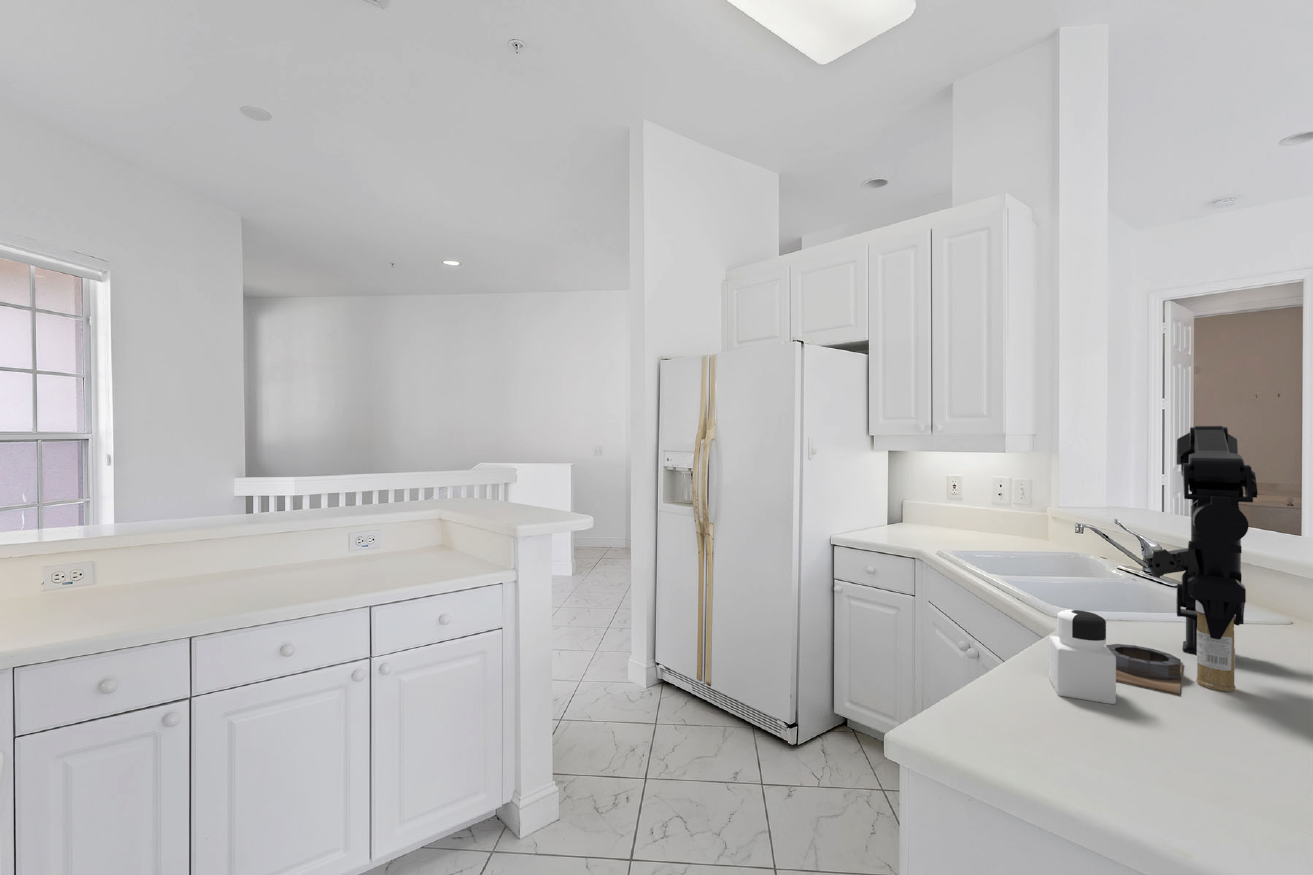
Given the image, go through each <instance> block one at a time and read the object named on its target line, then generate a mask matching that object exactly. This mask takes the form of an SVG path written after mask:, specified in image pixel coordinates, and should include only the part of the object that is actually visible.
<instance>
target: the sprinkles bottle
mask: <svg viewBox="0 0 1313 875" xmlns="http://www.w3.org/2000/svg"><path fill="white" fill-rule="evenodd" d="M1196 610H1197V654H1196V666H1197V667H1196V668H1197V669H1196V670H1197V671H1196V672H1197V673H1196V674H1197V678H1196V682H1197V684H1199V685H1201V686H1203V687H1205V688H1208V689H1211V690H1215V691H1220V692H1221V691H1222V692H1234V691H1236V688H1237V687H1236V685H1235V669H1236V649H1235V624H1234V618H1235V617H1234V618H1233V619H1232V621H1231V622H1230V624H1229V626H1228V627H1227V629H1226V631H1225V632H1224V634H1223V636H1222V637H1221V639H1213V638H1211V637H1210V633H1209V629H1208V625H1207V622H1206V618H1205V614H1204V610H1203V606H1202V604H1201V603H1200V602H1198V601H1197V600H1196ZM1235 616H1236V614H1235Z"/></svg>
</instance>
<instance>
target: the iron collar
mask: <svg viewBox="0 0 1313 875" xmlns="http://www.w3.org/2000/svg"><path fill="white" fill-rule="evenodd" d="M1105 646H1106V647H1107V648H1108V649H1109V650H1110V651H1111V652H1112V653H1113V654H1114V655H1115V656H1116V670H1118V671H1121V672H1124V673H1127V674H1130V675H1135V676H1139V677H1144V678H1148V679H1158V680H1175V679H1180V675H1181V662H1182V661H1181V660H1182V659H1180V658H1178V657H1177V656H1174V655H1173V654H1171V653H1169V652H1165V651H1161V650H1158V649H1154V648H1150V647H1145V646H1139V645H1134V644H1123V643H1114V644H1113V643H1111V644H1105Z"/></svg>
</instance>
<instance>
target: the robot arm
mask: <svg viewBox="0 0 1313 875" xmlns="http://www.w3.org/2000/svg"><path fill="white" fill-rule="evenodd" d="M1238 444H1239V443H1238V439H1237V438H1236V437H1235V436H1233V435H1231V434H1229V432H1228V427H1227V426H1223V425H1194V426H1191V427H1189V431H1188V433H1186V434H1184V435H1182V436H1180V437H1178V438H1177V439H1176V452H1175V454H1176V455H1175V456H1176V458H1175V459H1176V460H1175V461H1176V465H1179V466H1180V471H1181V472H1180V475H1181V476H1182V478H1183V479H1182V481H1183V482H1182V483H1183V499H1184V500H1191V506H1190V509H1191V510H1190V540H1188V543H1187V547H1186V548H1180V549H1174V550H1169V551H1168V550H1167V549H1166V548H1164V549H1161V550H1154V551H1153V552H1152V554H1151V553H1150V554H1147V555H1145V557H1144V560H1145V562H1146V565H1147V568H1149V571H1150V573H1151V576H1152V577H1154V578H1155V577H1162V576H1164V575H1167V574H1173V573H1175V574H1176V573H1180V572H1183V573H1182V575H1181V583H1176V597H1175V598H1176V600H1175V601H1176V606H1175V608H1176V616H1177V617H1178V618H1179V617H1180V618H1181V617H1183V618H1185V640H1184V641H1183V642H1182V651H1183V652H1186V653H1191V654H1196V655H1197V610H1196V600H1197V601H1198V602H1200V603H1201V604H1202V606H1203V610H1204V614H1205V618H1206V622H1207V625H1208V629H1209V633H1210V637H1211V638H1213V639H1221V637H1222V636H1223V634H1224V632H1225V631H1226V629H1227V627H1228V626H1229V624H1230V622H1231V621H1232V619H1233V618H1234V617H1235V618H1234V626H1240V625H1244V620H1245V618H1244V617H1245V615H1244V614H1245V606H1246V605H1245V604H1246V602H1247V601H1246V598H1247V591H1246V587H1245V585H1244V584H1243V583H1242V568H1241V567H1242V557H1241V556H1242V539H1243V537H1245V536H1246V535H1247V533H1248V531H1249V521H1248V519H1247V516H1246V515H1245V514H1244V513H1243V512H1242V508H1240V506H1239V503H1254V498H1256V499H1257V498H1258V493H1259V492H1258V486H1257V484H1258V483H1257V479H1256V478H1257V477H1256V472H1255V471H1253V470H1252V466H1251V464H1245V460H1244V458H1243V456H1242V455H1240V454H1239V448H1238V446H1239V445H1238ZM1244 493H1245V494H1244ZM1235 614H1236V616H1235Z"/></svg>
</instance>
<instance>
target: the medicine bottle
mask: <svg viewBox="0 0 1313 875" xmlns="http://www.w3.org/2000/svg"><path fill="white" fill-rule="evenodd" d="M1056 622H1057V623H1056V625H1057V626H1056V627H1057V630H1056V633H1057V635H1050V636H1049V638H1048V639H1049V641H1048V642H1049V644H1048V646H1049V648H1048V651H1049V652H1048V655H1049V656H1048V659H1049V660H1048V661H1049V662H1048V669H1049V672H1048V673H1049V674H1048V676H1049V677H1048V678H1049V680H1050V682H1051V684H1052V686H1053V688H1054V690H1055V692H1056V694H1057V696H1060V697H1064V698H1065V697H1067V698H1072V699H1079V700H1085V701H1089V702H1096V703H1097V702H1098V703H1102V704H1103V703H1104V704H1108V705H1109V704H1110V705H1115V704H1116V703H1117V697H1116V696H1117V695H1116V694H1117V682H1116V656H1115V655H1114V654H1113V653H1112V652H1111V651H1110V650H1109V649H1108V648H1107V647H1106V645H1107V621H1106V619H1105V618H1103V617H1102V616H1100V615H1099V614H1097V613H1095V612H1089V611H1086V610H1080V609H1079V610H1078V609H1065V610H1061V611H1059V612H1058V613H1057V621H1056Z"/></svg>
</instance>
